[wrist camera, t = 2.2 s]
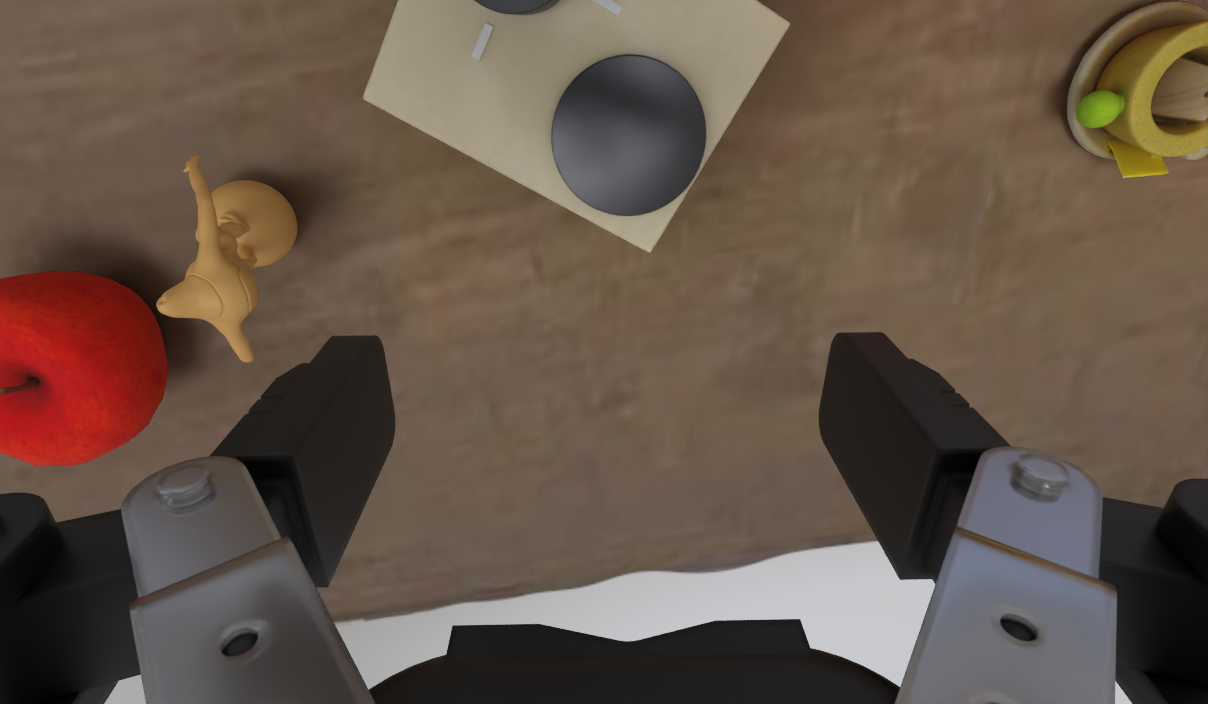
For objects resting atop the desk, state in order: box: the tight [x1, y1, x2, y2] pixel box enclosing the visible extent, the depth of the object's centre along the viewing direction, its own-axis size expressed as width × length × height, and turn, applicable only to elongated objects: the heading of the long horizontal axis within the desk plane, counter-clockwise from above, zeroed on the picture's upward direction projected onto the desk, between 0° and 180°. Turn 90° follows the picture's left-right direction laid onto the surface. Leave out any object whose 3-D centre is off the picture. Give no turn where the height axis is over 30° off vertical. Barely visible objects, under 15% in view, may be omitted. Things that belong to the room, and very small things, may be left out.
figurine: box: [156, 153, 297, 362], centre depth 27 cm, size 8×6×12 cm
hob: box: [363, 0, 790, 253], centre depth 27 cm, size 15×12×3 cm
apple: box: [0, 271, 168, 466], centre depth 31 cm, size 9×9×8 cm
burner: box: [551, 54, 706, 216], centre depth 28 cm, size 7×7×1 cm
